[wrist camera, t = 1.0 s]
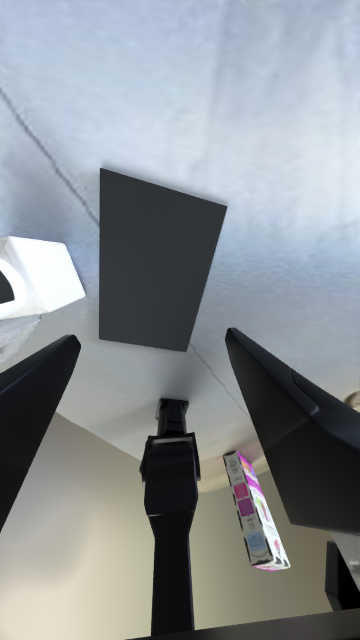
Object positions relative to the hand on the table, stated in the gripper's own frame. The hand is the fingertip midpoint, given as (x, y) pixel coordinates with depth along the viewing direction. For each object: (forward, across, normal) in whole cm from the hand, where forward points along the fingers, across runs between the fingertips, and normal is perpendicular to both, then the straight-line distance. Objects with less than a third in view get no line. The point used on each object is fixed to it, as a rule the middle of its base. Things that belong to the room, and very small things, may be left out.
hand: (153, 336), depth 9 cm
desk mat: (+14, +2, +2) cm, 14 cm away
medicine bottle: (+15, +16, +1) cm, 21 cm away
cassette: (+12, +23, +10) cm, 28 cm away
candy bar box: (+1, -19, +54) cm, 57 cm away
